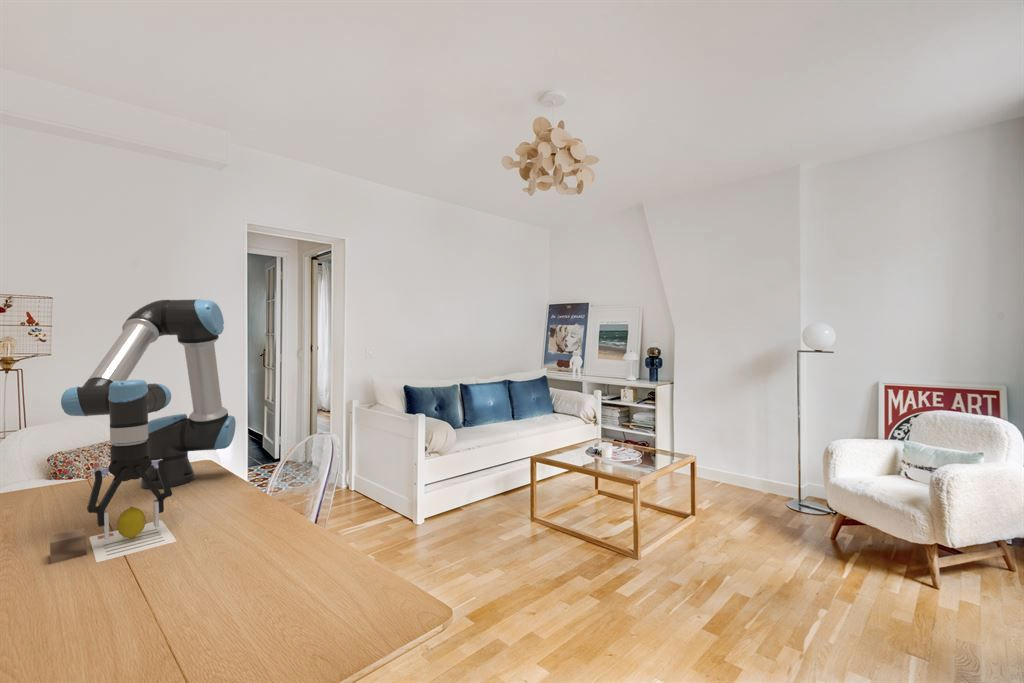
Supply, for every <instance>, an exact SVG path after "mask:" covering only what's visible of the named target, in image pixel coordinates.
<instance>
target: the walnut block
mask: <svg viewBox="0 0 1024 683" xmlns="http://www.w3.org/2000/svg"><path fill="white" fill-rule="evenodd" d="M87 546H88V545H87V533H86V529H85V527H82V528H78V529H73V530H69V531H66V532H60V533H56V534H51V535H49V553H50V554H49V556H50V565H52V564H56V563H60V562H64V561H68V560H72V559H75V558H79V557H84V556H87V554H88V553H87V552H88V551H87V550H88V549H87V548H88V547H87Z"/></svg>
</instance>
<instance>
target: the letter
mask: <svg viewBox="0 0 1024 683" xmlns="http://www.w3.org/2000/svg"><path fill="white" fill-rule="evenodd" d="M89 542H90V546H91V548H92V551H93V555H94V558H95V559H94V560H95V561H96V563H100V562H104V561H108V560H112V559H115V558H119V557H123V556H127V555H130V554H134V553H138V552H142V551H146V550H149V549H153V548H157V547H160V546H164V545H168V544H172V543H176V542H177V539H176V537H175V536H174V535H173V534H172V533H171V531H170V530H169V528H168V527H167V525H166V524H165V522H164V521H163V520H162V519H159V527H158V528H155V526H154V521H151V522H148V523H145V527H144V529H143V530H142V532H141V533H139V534H138V535H136V536H135V537H134V538H133V539H130V538H128V537H124V536H122V535H120V533H119V532H118V529H117V530H113V531H109V539H108V540H105V539H104V533H101V534H96V535H93V536H92V535H91V536H89Z"/></svg>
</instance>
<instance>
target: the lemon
mask: <svg viewBox="0 0 1024 683" xmlns="http://www.w3.org/2000/svg"><path fill="white" fill-rule="evenodd" d="M145 524H146V514H145V513H144V511H143V510H141V509H140V508H138V507H133V506H129V507H128V508H127V509H126V510H124V511H123V512H122V513H121V514H120V515H119V516H118V519H117V524H116V527H117V530H118V532H119V533H120V535H122V536H124V537H128V538H130V539H133V538H134V537H135V536H136V535H138V534H139V533H141V532H142V530H143V529H144V527H145Z"/></svg>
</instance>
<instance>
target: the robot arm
mask: <svg viewBox="0 0 1024 683" xmlns="http://www.w3.org/2000/svg"><path fill="white" fill-rule="evenodd" d="M224 323H225V322H224V315H223V312H222V310H221V308H220V306H219V305H218V304H217V303H216V302H215V301H213V300H206V299H200V298H199V299H160V300H156V301H155V300H154V301H152V302H150V303H147V304H145V305H144V306H142V307H140V308H138V309H137V310H136V311H134V312H133V313H132V314H131V315H130V316H128V317H127V319H126V320H125V321H124V322H123V325H122V328H121V330H122V332H121V334H120V335H119V336H118V338H117V339H116V340H115V342H114V343H113V345H112V346H111V347H110V348H109V350H108V351H107V353H106V354H105V355H104V357H103V358H102V360H101V361H100V362H99V364H98V365H97V366H96V368H95V369H94V371H93V372H92V373H91V374H90V376H89V377H88V379H87V380H86V381H85V383H84V384H83V386H76V387H70V388H68V389H66V390H65V391H64V392H63V393H62V395H61V399H60V405H61V408H62V410H63V412H64V414H66V415H68V416H70V417H90V416H92V417H93V416H105V415H108V416H109V443H110V444H112V445H111V446H110V448H109V451H110V453H109V454H110V456H109V457H110V463H109V465H108V467H104V468H103V467H102V468H96V469H94V471H93V474H94V481H93V486H92V489H91V492H90V496H89V499H88V503H87V506H86V510H87V512H88V513H89V514H93V513H95V514H96V518H97V519H96V520H97V526H98V527H99V528H100V527H103V534H104V539H105V540H108V539H109V532H110V524H109V518H110V517H109V511H108V509H107V507H108V506H109V503H110V502H111V500H112V498H113V496H114V495H115V493H116V491H117V490H118V488H119V487H120V485H121V483H122V482H129V481H131V480H141V481H140V484H141V485H140V486H141V488H142V489H146V490H147V489H148V490H150V491H151V493H152V494H153V495H154V496H155V497H156V499H153V500H152V507H153V508H152V510H153V511H152V512H153V515H152V516H153V522H154V526H155V528H158V527H159V521H160V514H162V513H164V511H165V502H164V500H165V499H166V498H168V497H169V498H170V497H172V496H173V492H172V489H171V487H177V486H181V485H183V484H184V485H185V484H187V483H189V482H191V481H194V479H195V471H194V468H193V466H192V465H191V462H190V459H189V454H188V453H189V452H197V451H200V452H201V451H213V450H214V451H216V450H223V449H227V448H229V447H230V445H231V444H232V442H233V439H234V436H235V433H236V426H237V424H236V423H237V422H236V418H235V416H234V415H229V411H228V409H227V408H225V406H223V404H222V403H223V402H222V395H221V394H222V393H221V386H220V379H219V372H218V370H219V369H218V364H217V356H216V349H215V342H217V341H218V340H219V339H220V338H219V335H221V334H222V333H224V332H223V331H224V328H225V326H224ZM162 336H176V337H177V338H176V339H177V343H179V344H180V345H182V346H183V347H184V354H185V361H186V368H187V369H186V370H187V374H188V381H189V389H190V395H191V396H190V397H191V403H192V412H191V413H190V414H189V416H188V414H186V413H179V414H173V415H168V416H161V417H158V418H154V419H152V420H150V421H149V414H150V413H154V412H155V413H156V412H158V411H160V410H162V409H164V408H166V407H167V406H168V405H169V404H170V403H171V400H172V393H171V390H170V389H169V388H168V387H167V386H166V385H164V384H162V383H147V381H145V380H143V379H129V377H130V375H131V374H132V372H133V371H134V369H135V368H136V366H137V364H138V363H139V361H140V360H141V358H142V357H143V355H144V353H145V352H146V350H148V347H149V346H150V344H153V343H155V342H156V341H157V340H158V338H159V337H162ZM128 379H129V380H128ZM108 473H111V475H113V480H112V481H111V483H110V485H109V487H108V489H107V491H106V492H105V494H104V496H103V497H102V498H101V501H100V503H99V504H98V505H97V502H98V499H99V495H100V492H101V487H102V485H103V479H104V478H106V476H107V474H108ZM159 489H163V492H161V491H160V490H159Z"/></svg>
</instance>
